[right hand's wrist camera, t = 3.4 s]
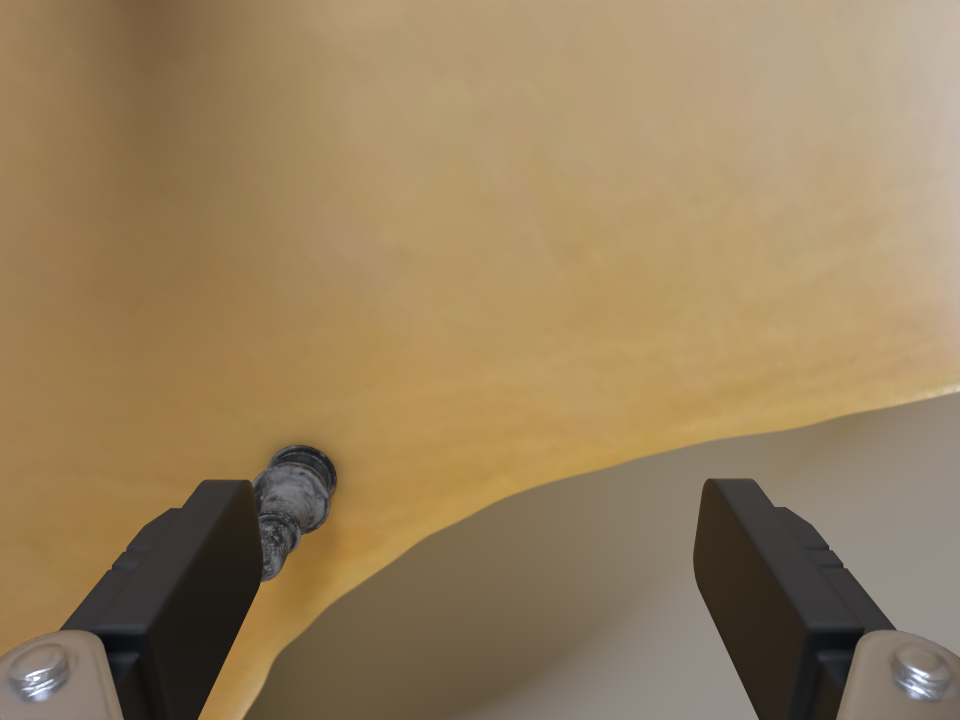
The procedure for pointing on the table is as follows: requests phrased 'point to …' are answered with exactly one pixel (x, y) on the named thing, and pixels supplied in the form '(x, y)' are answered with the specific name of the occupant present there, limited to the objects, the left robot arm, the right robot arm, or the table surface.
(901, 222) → the table surface
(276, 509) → the grey stone chess piece
